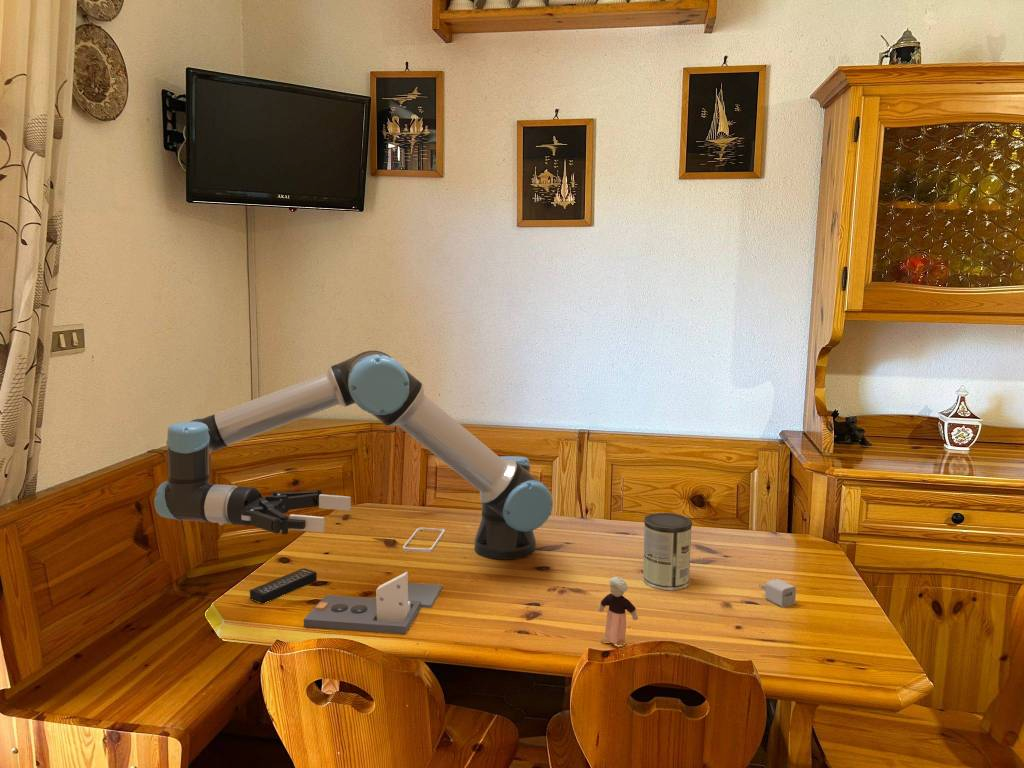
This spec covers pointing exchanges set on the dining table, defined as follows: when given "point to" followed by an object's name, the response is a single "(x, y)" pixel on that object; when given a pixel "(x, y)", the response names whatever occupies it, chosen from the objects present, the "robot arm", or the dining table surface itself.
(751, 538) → the dining table surface
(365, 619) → the grey control panel
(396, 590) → the white wedge bracket
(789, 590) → the usb wall charger
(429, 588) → the rubber mat
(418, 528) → the phone case
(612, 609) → the grandmother figurine
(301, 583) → the multiport hub
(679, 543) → the coffee can
